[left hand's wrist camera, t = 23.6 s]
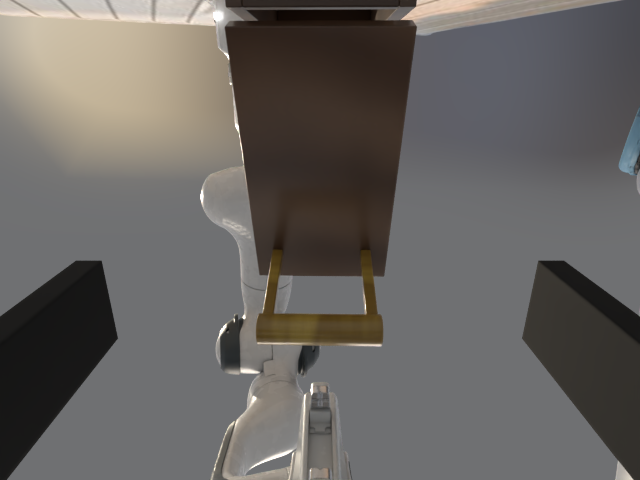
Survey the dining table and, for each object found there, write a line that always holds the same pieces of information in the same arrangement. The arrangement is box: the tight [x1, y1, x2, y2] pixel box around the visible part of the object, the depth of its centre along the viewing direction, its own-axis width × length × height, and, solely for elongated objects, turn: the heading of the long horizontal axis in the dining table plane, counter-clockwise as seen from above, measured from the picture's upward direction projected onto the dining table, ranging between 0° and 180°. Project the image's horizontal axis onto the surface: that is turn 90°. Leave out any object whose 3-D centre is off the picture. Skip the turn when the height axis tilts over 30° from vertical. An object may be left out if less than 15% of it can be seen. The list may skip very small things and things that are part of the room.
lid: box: [225, 20, 417, 346], centre depth 23 cm, size 17×9×9 cm
